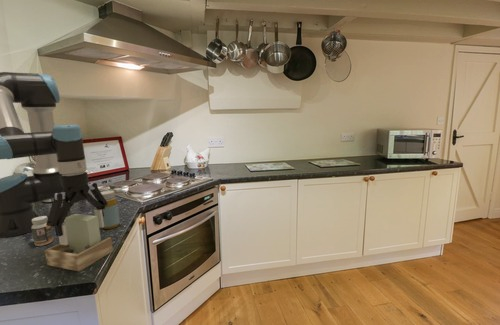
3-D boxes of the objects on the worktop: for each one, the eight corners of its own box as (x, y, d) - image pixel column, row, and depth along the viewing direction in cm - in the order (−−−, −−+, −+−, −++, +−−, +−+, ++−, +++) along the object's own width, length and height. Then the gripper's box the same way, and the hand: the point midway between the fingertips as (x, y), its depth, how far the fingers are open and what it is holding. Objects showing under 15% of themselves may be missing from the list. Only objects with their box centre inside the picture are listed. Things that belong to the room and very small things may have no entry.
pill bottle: (53, 243, 103) (48, 218, 101) (34, 248, 100) (29, 222, 98) (53, 238, 107) (49, 214, 106) (35, 242, 104) (30, 217, 102)
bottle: (122, 222, 120) (118, 189, 118) (115, 229, 114) (110, 194, 111) (106, 223, 120) (102, 190, 118) (98, 230, 113) (93, 195, 111)
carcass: (47, 264, 88) (44, 250, 87) (83, 246, 100) (81, 233, 99) (79, 271, 83) (76, 256, 82) (113, 250, 95) (111, 237, 94)
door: (67, 252, 92) (61, 218, 90) (80, 246, 96) (75, 213, 94) (90, 256, 89) (84, 221, 87) (102, 249, 93) (97, 216, 91)
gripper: (41, 183, 75) (54, 254, 79) (113, 166, 98) (120, 221, 102) (23, 182, 78) (36, 251, 82) (97, 165, 101) (105, 219, 105)
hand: (83, 235), depth 92 cm, fingers open, 13 cm apart
